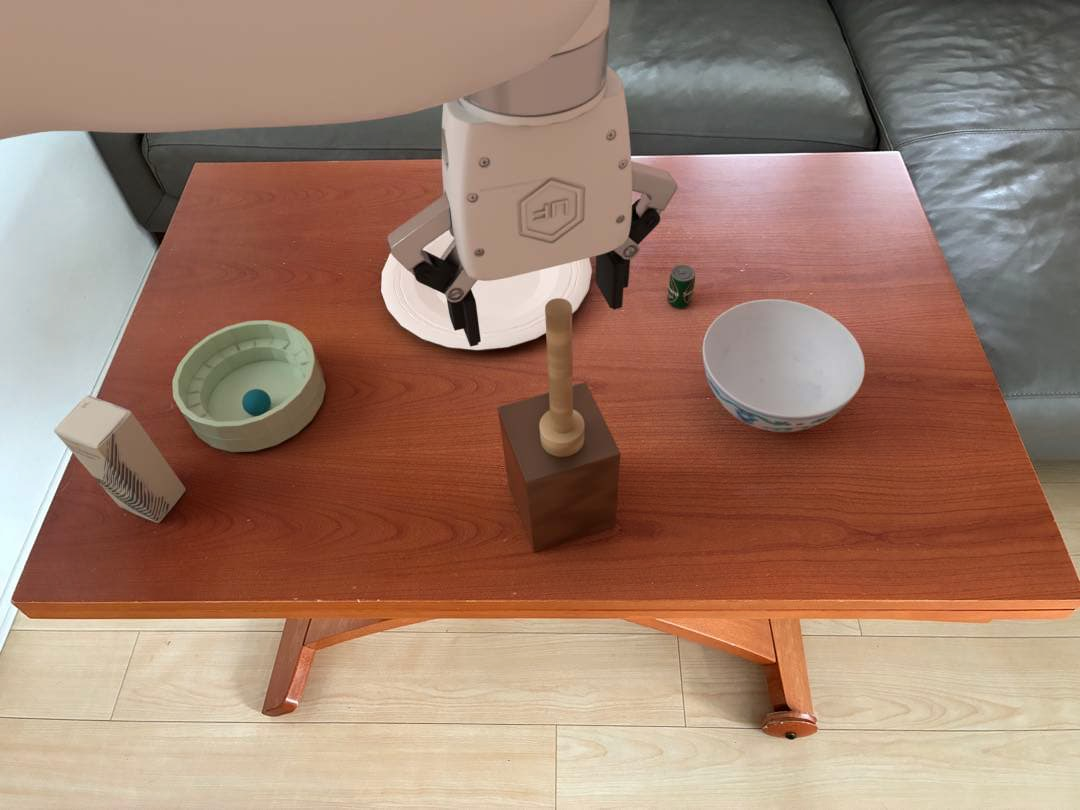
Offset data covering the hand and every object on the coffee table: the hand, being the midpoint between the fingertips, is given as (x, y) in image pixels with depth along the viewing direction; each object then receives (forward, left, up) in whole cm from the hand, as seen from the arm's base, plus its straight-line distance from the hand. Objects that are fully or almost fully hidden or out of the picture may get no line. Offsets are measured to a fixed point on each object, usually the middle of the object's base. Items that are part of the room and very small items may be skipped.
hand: (540, 313), depth 51 cm
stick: (+1, 0, -15) cm, 15 cm away
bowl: (-25, +24, -27) cm, 44 cm away
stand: (+1, +1, -27) cm, 27 cm away
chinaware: (+25, +5, -27) cm, 37 cm away
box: (-36, +15, -27) cm, 47 cm away
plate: (+3, +33, -27) cm, 43 cm away
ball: (-25, +22, -25) cm, 42 cm away
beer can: (+23, +22, -27) cm, 42 cm away
